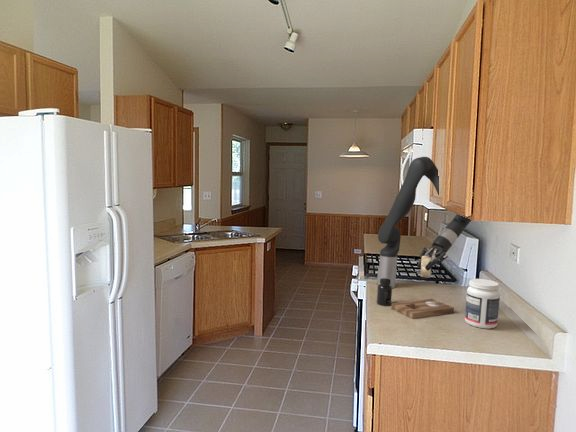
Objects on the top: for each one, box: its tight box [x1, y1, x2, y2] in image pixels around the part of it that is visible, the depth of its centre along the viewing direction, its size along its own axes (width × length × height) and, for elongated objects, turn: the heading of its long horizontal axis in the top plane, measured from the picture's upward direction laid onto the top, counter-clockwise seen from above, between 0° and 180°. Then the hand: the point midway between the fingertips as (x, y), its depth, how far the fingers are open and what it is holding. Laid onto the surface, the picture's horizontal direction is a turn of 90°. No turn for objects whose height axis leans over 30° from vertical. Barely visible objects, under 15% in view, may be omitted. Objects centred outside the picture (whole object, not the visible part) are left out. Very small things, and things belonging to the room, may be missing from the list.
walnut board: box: [391, 298, 455, 320], centre depth 197 cm, size 14×24×3 cm, turn 115°
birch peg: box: [419, 255, 432, 279], centre depth 195 cm, size 4×4×9 cm
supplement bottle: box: [376, 278, 393, 307], centre depth 205 cm, size 7×7×12 cm
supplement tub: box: [464, 278, 501, 330], centre depth 182 cm, size 13×13×18 cm
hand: (422, 267), depth 195 cm, fingers closed on birch peg, 4 cm apart
